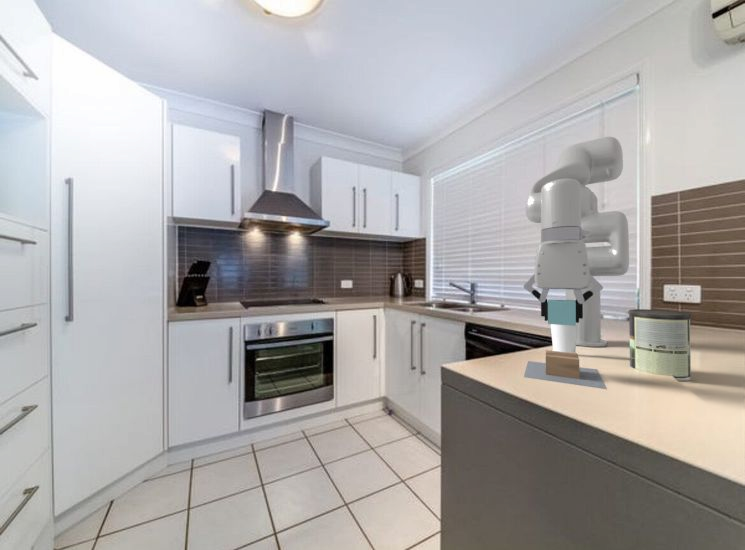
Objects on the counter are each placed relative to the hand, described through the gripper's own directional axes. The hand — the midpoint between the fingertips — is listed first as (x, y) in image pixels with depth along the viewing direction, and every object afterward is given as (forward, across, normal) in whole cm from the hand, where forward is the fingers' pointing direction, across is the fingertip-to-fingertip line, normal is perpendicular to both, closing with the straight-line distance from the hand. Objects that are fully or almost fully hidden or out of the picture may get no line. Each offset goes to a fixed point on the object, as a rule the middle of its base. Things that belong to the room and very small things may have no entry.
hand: (561, 320), depth 66 cm
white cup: (+13, -1, -21) cm, 25 cm away
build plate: (+13, 0, 0) cm, 13 cm away
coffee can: (+13, -19, -14) cm, 27 cm away
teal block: (+1, 0, 0) cm, 1 cm away
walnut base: (+12, 0, 0) cm, 12 cm away
